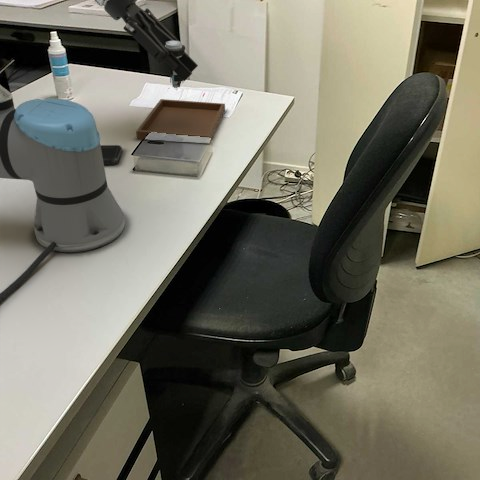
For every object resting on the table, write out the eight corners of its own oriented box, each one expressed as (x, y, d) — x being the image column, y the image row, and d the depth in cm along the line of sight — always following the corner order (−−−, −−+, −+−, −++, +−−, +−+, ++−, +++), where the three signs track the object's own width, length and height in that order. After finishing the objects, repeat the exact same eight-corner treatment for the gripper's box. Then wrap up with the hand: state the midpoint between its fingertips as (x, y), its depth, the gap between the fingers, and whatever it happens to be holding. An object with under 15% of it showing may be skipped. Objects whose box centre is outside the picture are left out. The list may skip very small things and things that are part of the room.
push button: (186, 90, 133) (183, 49, 127) (164, 90, 133) (159, 48, 127) (189, 80, 138) (185, 39, 132) (167, 79, 138) (163, 38, 132)
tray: (209, 144, 134) (209, 136, 133) (137, 139, 134) (136, 131, 133) (225, 111, 152) (224, 103, 150) (161, 106, 152) (160, 99, 150)
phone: (116, 160, 122) (44, 160, 120) (117, 165, 122) (45, 165, 120) (122, 145, 128) (54, 145, 126) (123, 149, 129) (55, 149, 127)
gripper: (109, -9, 116) (192, 75, 125) (136, -23, 131) (209, 52, 140) (88, 16, 119) (171, 96, 128) (117, -1, 134) (190, 71, 143)
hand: (191, 73), depth 134 cm, fingers closed on push button, 5 cm apart
